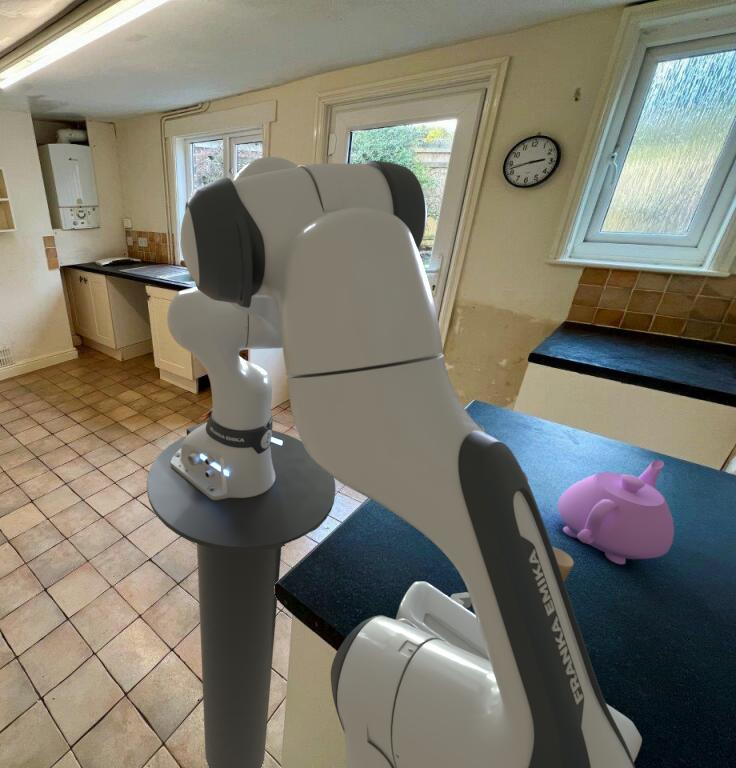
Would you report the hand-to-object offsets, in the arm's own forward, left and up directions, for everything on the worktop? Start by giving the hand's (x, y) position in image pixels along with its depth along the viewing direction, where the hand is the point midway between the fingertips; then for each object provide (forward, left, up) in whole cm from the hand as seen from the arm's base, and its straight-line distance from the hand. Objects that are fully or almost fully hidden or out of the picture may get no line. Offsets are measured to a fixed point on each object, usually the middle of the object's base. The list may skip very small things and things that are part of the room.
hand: (524, 622), depth 46 cm
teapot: (+11, +37, -11) cm, 40 cm away
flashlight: (+1, +2, -10) cm, 11 cm away
